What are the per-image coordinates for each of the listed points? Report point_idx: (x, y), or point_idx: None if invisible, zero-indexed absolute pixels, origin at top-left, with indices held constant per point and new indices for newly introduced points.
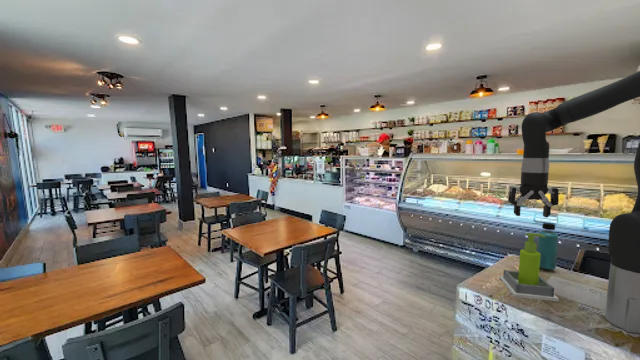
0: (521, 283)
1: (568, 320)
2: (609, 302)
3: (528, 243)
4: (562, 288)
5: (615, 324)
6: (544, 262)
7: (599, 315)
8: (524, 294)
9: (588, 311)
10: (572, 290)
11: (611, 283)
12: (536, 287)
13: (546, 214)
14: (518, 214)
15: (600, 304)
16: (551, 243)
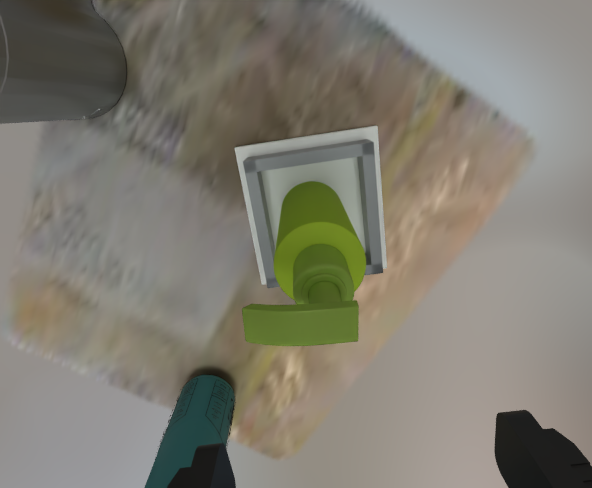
0: (338, 197)
1: (243, 5)
2: (89, 45)
3: (343, 272)
4: (197, 257)
5: (109, 27)
6: (215, 393)
7: (138, 91)
8: (341, 136)
9: (163, 108)
10: (171, 253)
11: (34, 30)
12: (303, 152)
13: (212, 471)
14: (531, 421)
15: (115, 179)
16: (174, 462)
